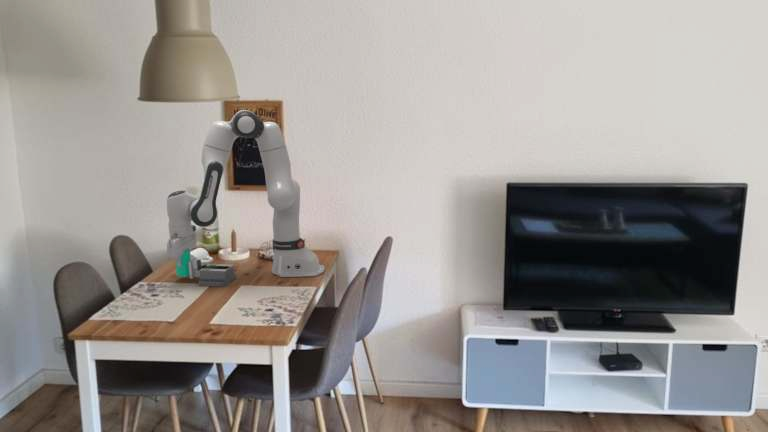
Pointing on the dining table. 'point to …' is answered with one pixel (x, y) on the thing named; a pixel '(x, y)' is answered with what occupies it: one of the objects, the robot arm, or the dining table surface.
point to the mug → (201, 256)
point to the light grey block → (194, 268)
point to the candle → (184, 265)
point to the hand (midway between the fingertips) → (183, 263)
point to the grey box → (217, 275)
